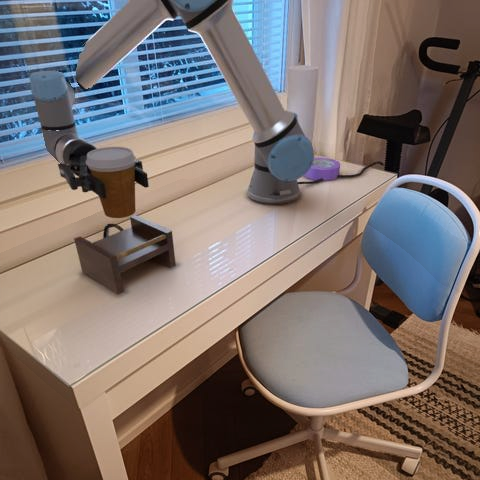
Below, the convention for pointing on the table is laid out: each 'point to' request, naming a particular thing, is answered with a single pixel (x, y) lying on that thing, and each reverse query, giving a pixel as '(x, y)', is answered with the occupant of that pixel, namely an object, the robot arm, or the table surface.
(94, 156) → the disposable coffee cup
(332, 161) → the tape roll
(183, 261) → the table surface
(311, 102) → the cylinder container
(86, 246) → the rack
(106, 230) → the smartwatch
